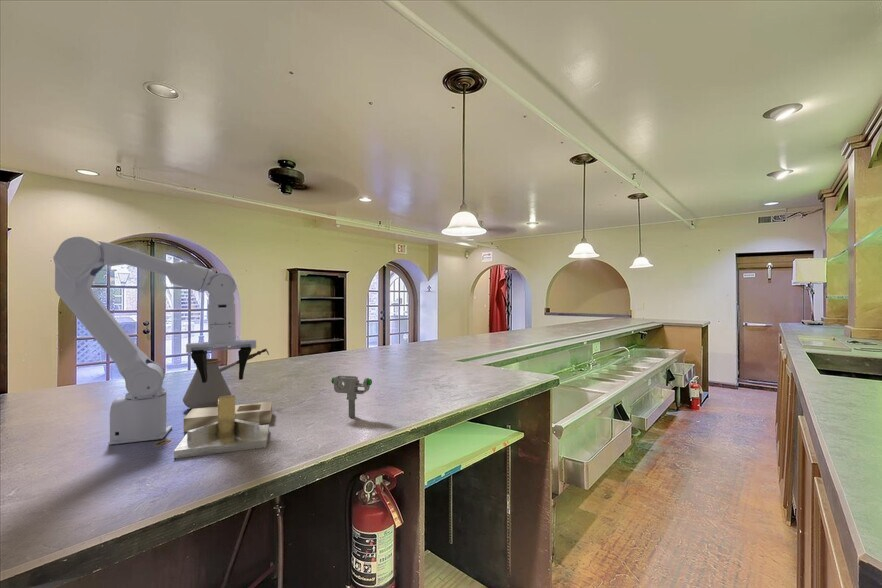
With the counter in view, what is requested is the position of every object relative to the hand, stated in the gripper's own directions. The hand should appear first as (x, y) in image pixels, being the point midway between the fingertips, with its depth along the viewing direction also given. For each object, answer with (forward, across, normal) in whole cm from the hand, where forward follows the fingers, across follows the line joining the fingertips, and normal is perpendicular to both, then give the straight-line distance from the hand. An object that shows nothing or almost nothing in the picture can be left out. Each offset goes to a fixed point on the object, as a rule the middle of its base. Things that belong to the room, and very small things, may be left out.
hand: (223, 380), depth 94 cm
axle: (+9, +2, -14) cm, 16 cm away
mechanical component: (+11, +29, -5) cm, 32 cm away
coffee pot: (+11, -2, +18) cm, 21 cm away
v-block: (+10, +2, -14) cm, 18 cm away
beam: (+10, +1, +1) cm, 11 cm away
